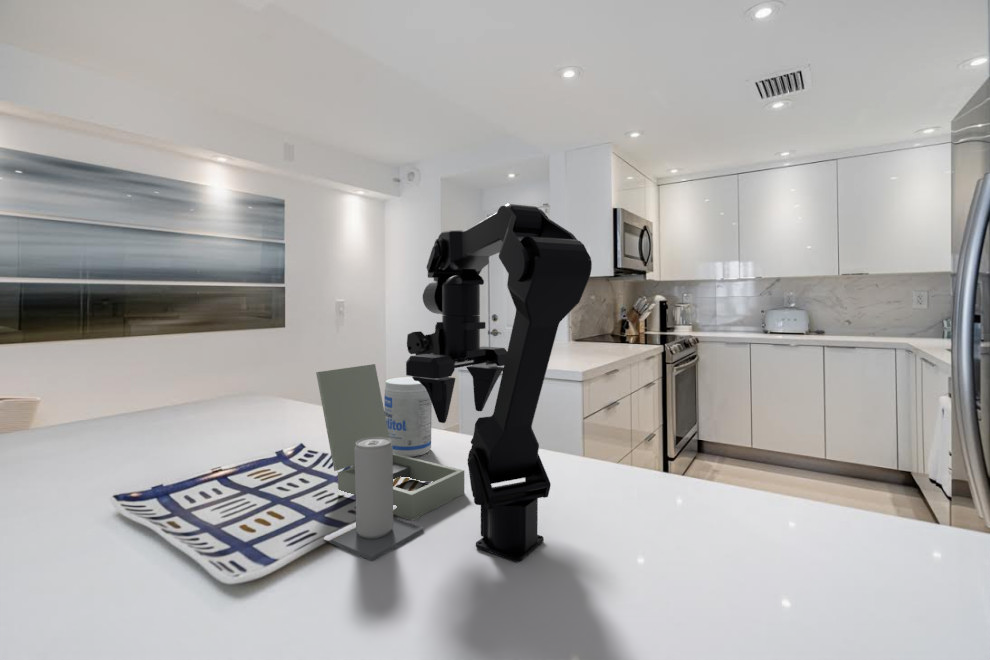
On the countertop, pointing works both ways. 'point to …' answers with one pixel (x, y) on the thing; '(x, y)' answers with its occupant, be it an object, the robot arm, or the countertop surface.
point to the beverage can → (374, 487)
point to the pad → (378, 540)
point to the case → (423, 499)
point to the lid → (351, 410)
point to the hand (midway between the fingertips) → (461, 416)
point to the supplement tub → (408, 416)
